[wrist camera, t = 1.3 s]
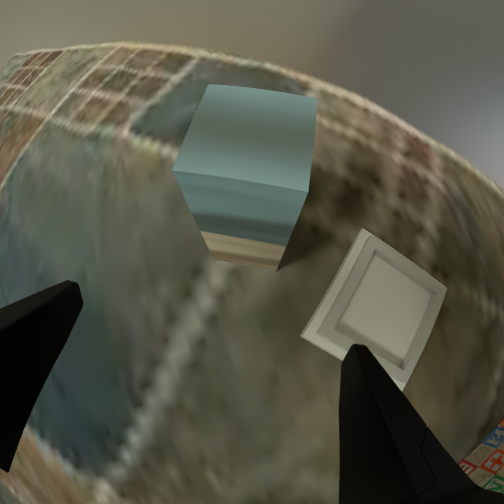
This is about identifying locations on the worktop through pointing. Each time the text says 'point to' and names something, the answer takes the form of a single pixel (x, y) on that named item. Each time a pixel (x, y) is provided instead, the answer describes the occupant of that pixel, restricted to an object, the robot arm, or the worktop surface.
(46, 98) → the worktop surface
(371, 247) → the base plate
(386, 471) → the robot arm
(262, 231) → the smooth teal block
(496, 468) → the stack of blocks
